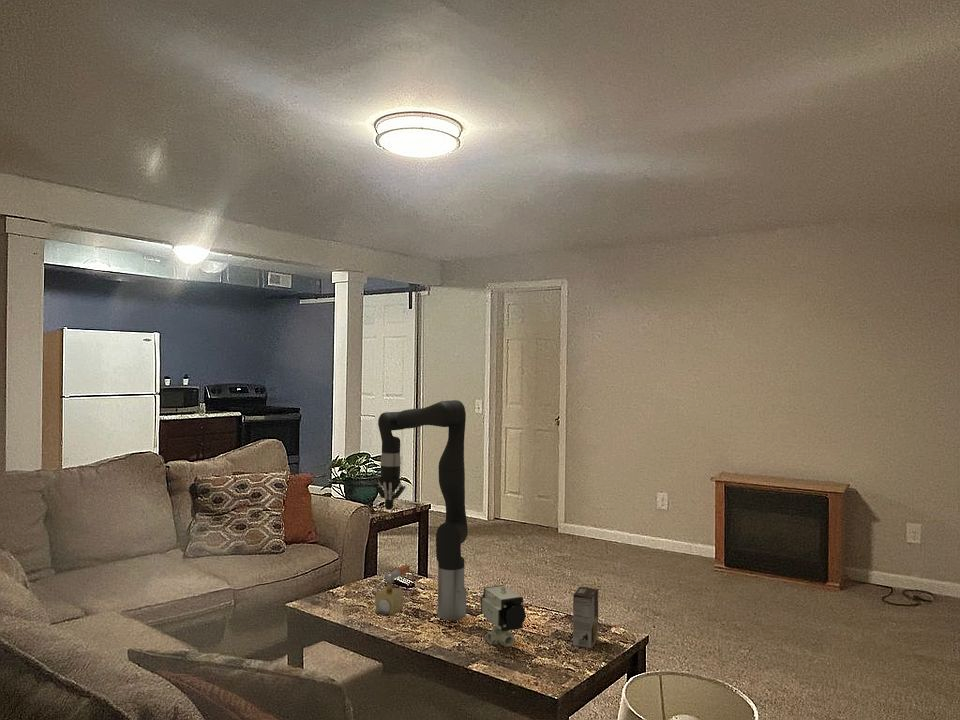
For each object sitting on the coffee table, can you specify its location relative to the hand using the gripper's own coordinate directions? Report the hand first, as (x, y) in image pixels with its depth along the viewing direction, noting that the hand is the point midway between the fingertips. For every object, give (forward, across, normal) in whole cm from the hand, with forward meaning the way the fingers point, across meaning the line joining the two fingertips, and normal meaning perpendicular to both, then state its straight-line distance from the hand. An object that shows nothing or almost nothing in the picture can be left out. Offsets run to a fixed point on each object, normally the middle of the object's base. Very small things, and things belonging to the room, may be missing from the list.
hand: (389, 509), depth 271 cm
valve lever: (+22, +10, -11) cm, 26 cm away
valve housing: (+32, +10, -16) cm, 37 cm away
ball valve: (+31, +56, -29) cm, 70 cm away
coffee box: (+31, +81, -17) cm, 88 cm away
